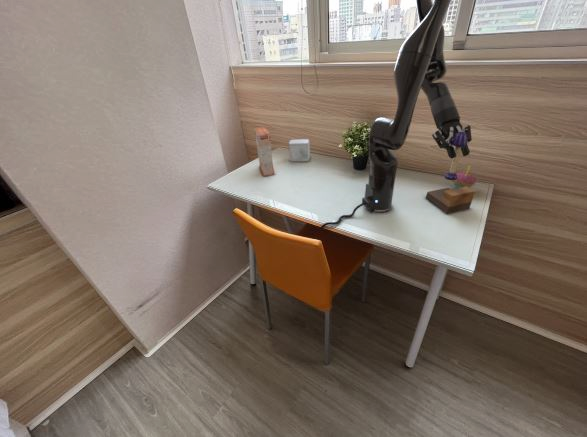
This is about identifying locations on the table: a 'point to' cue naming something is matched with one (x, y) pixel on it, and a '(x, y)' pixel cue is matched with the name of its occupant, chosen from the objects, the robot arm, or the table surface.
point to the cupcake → (464, 179)
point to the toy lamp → (459, 142)
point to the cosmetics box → (299, 150)
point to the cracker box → (264, 150)
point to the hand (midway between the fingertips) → (460, 156)
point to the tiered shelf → (443, 207)
